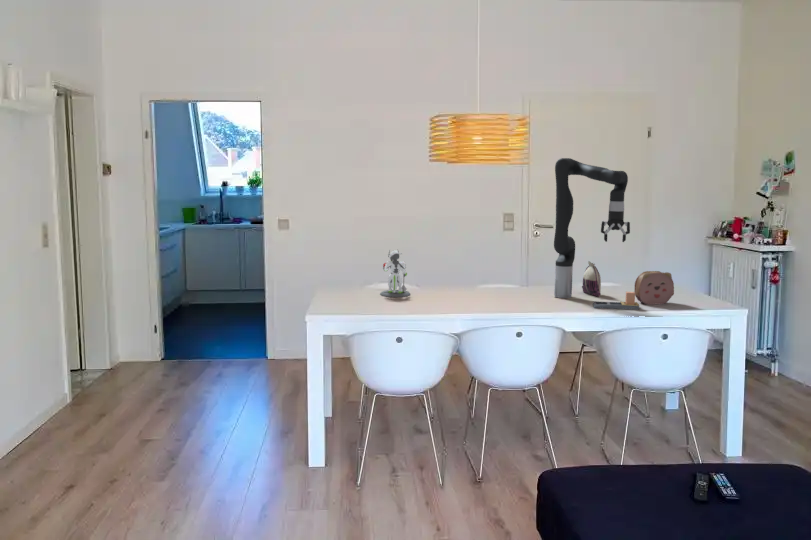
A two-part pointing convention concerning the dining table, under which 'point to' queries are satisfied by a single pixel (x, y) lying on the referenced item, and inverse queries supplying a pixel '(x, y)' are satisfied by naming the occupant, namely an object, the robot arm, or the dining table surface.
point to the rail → (615, 305)
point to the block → (630, 298)
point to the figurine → (395, 276)
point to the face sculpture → (654, 287)
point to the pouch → (592, 280)
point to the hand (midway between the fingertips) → (614, 241)
